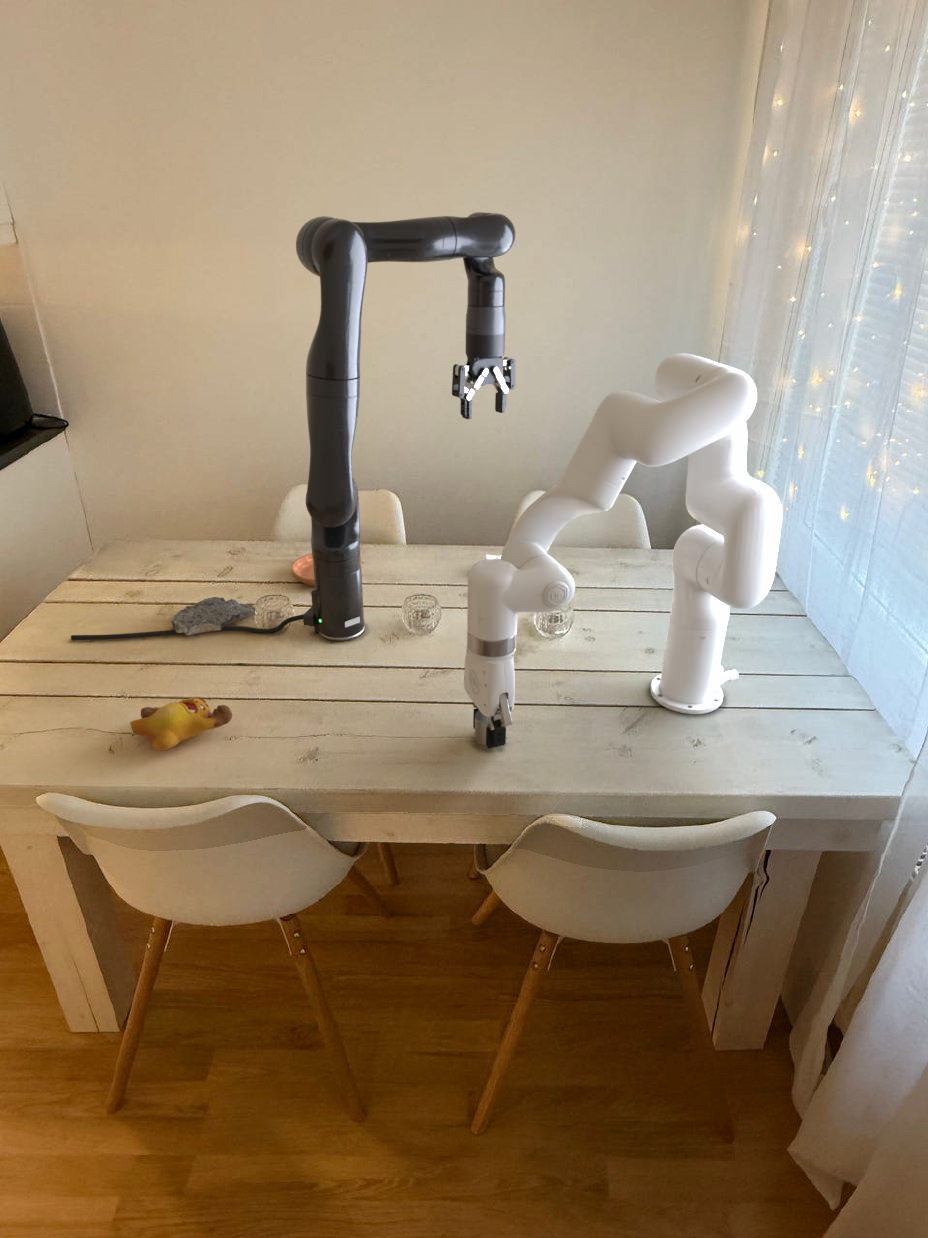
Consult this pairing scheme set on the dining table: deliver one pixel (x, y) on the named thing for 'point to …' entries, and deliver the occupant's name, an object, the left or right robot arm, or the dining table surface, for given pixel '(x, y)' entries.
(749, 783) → the dining table surface
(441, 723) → the dining table surface
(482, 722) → the can
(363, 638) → the dining table surface
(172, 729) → the toy
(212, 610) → the stone slab
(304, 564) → the saucer
